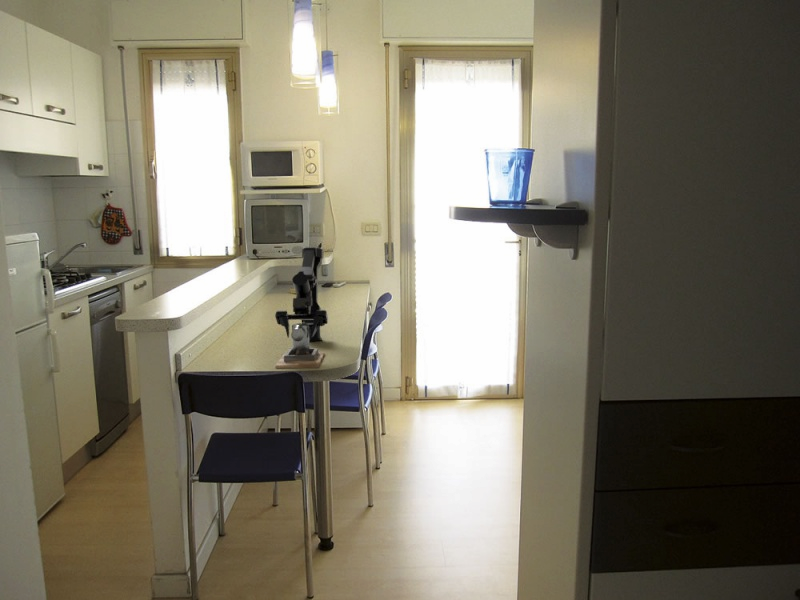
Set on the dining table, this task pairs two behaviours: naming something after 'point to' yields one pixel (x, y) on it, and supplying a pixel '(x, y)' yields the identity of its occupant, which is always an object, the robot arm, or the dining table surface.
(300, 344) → the duct elbow
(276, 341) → the dining table surface
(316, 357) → the base
